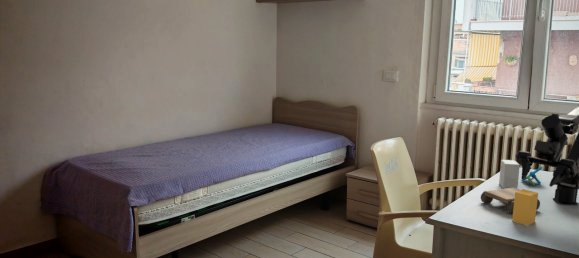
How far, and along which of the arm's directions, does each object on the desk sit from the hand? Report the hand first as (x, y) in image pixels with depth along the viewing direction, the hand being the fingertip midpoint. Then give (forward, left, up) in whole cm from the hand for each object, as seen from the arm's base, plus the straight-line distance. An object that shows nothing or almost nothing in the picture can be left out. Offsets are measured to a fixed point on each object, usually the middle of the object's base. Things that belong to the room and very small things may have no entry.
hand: (535, 182), depth 167 cm
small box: (-10, -36, -12) cm, 40 cm away
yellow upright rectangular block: (+5, +4, -12) cm, 14 cm away
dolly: (+2, -11, -12) cm, 17 cm away
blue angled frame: (-23, -42, -13) cm, 50 cm away
